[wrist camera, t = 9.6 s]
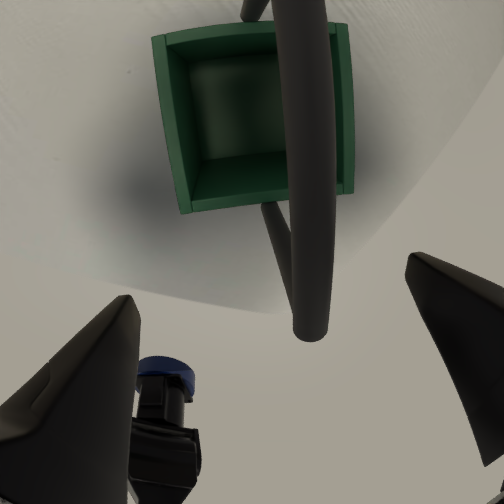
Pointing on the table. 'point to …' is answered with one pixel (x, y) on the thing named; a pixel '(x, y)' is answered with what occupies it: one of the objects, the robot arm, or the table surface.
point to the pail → (266, 133)
